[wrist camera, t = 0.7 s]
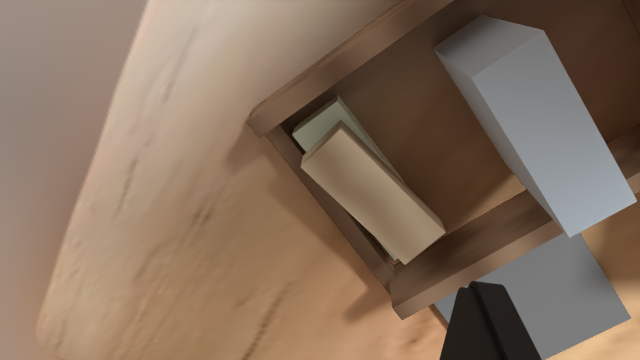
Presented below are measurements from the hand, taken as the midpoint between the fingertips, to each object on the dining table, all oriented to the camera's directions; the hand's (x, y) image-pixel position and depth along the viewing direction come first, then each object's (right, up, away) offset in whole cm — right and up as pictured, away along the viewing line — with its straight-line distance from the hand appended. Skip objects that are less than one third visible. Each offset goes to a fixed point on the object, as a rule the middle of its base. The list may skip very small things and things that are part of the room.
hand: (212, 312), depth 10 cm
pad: (+18, -7, +30) cm, 36 cm away
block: (+14, +8, +25) cm, 29 cm away
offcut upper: (+6, +2, +25) cm, 26 cm away
